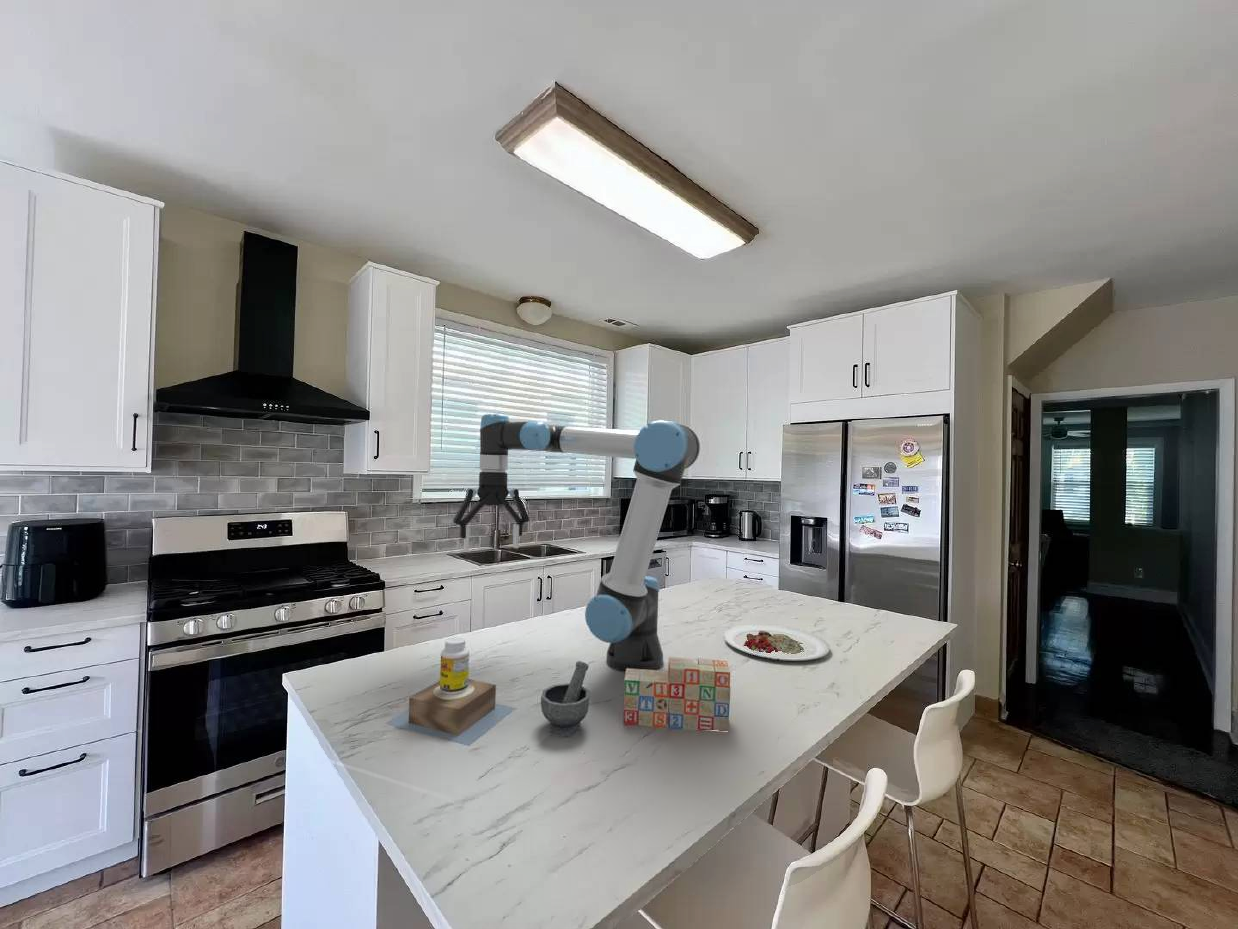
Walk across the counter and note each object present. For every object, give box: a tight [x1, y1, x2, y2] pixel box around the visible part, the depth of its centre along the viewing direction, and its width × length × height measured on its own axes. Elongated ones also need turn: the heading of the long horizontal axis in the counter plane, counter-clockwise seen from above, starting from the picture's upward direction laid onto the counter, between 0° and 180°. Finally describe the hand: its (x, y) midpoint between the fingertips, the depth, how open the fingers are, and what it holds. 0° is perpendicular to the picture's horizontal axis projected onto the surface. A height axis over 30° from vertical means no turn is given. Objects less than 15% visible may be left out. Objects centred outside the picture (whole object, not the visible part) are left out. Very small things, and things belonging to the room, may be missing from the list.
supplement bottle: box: [439, 636, 470, 695], centre depth 106 cm, size 6×6×10 cm
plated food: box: [723, 624, 831, 662], centre depth 154 cm, size 30×30×3 cm
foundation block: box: [408, 678, 497, 736], centre depth 106 cm, size 12×12×5 cm
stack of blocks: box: [622, 656, 731, 731], centre depth 107 cm, size 21×6×12 cm, turn 85°
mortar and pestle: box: [540, 660, 591, 738], centre depth 103 cm, size 11×9×12 cm
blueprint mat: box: [384, 702, 517, 746], centre depth 106 cm, size 20×16×1 cm
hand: (491, 549), depth 141 cm, fingers open, 13 cm apart
